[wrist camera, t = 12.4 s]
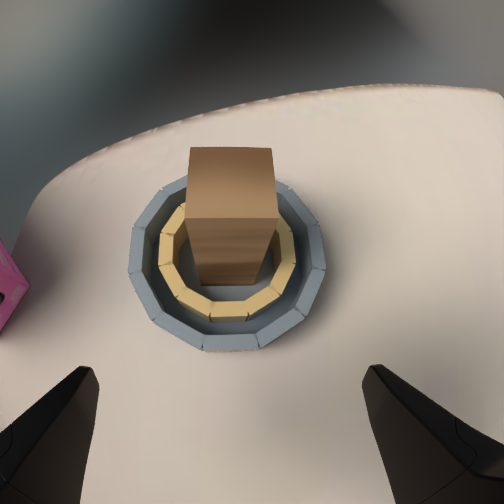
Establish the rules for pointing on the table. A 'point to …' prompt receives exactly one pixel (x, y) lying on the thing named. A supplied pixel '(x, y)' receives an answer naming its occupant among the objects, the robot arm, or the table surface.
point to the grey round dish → (225, 297)
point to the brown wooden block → (230, 212)
